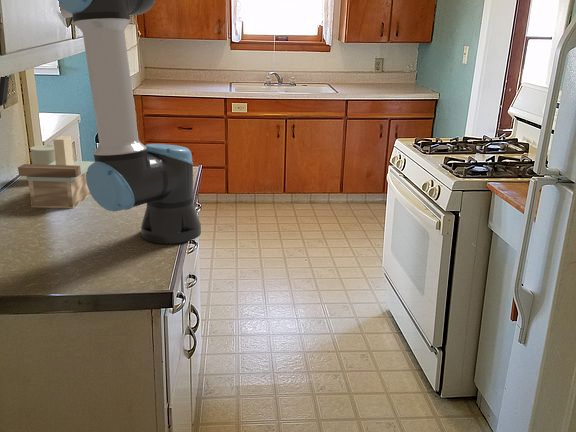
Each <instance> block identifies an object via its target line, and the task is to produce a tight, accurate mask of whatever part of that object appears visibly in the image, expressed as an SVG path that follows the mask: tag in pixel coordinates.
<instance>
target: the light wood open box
mask: <svg viewBox="0 0 576 432" xmlns="http://www.w3.org/2000/svg"><path fill="white" fill-rule="evenodd" d="M28 189H29V195H30V205H31V208H42V209H43V208H46V209H47V208H51V209H75V207H77V206H79V205H80V203H82V202H83V201H84V200H85V199H87V198H88V197H89V196H90V195H91V194H90V191H89V189H88V186H87V182H86V172H85V173H84V174H82V175H81V176H79V177H78V178H76V179H75V180H73V181H72V182H57V181H28Z"/></svg>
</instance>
